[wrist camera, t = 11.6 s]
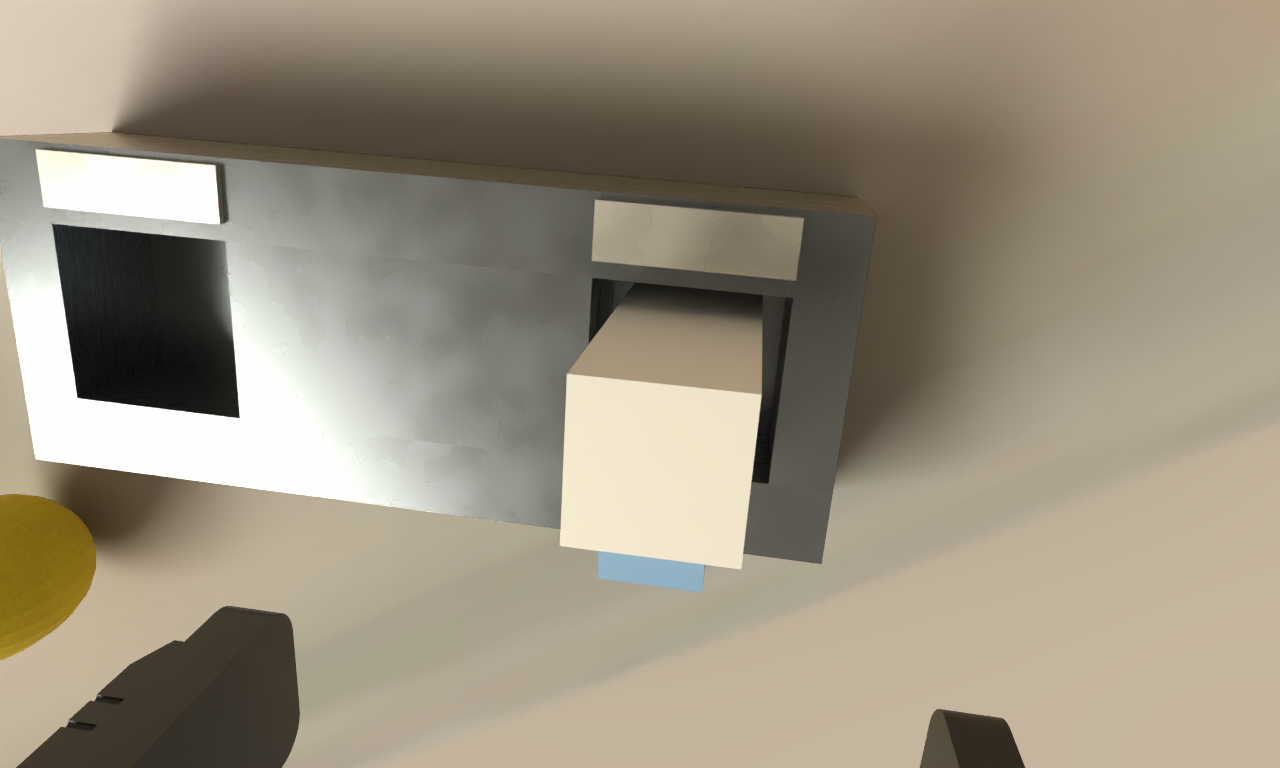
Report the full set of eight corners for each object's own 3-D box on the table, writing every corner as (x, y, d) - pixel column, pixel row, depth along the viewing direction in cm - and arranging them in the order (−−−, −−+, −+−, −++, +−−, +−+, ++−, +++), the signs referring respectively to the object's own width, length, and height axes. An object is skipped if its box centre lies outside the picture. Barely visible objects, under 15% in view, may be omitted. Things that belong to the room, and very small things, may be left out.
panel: (109, 132, 29) (-24, 136, 24) (856, 197, 26) (877, 216, 21) (142, 407, 32) (30, 461, 27) (812, 490, 29) (821, 567, 24)
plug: (635, 281, 27) (567, 373, 18) (762, 293, 27) (761, 394, 17) (626, 428, 29) (558, 585, 19) (745, 441, 28) (736, 609, 19)
